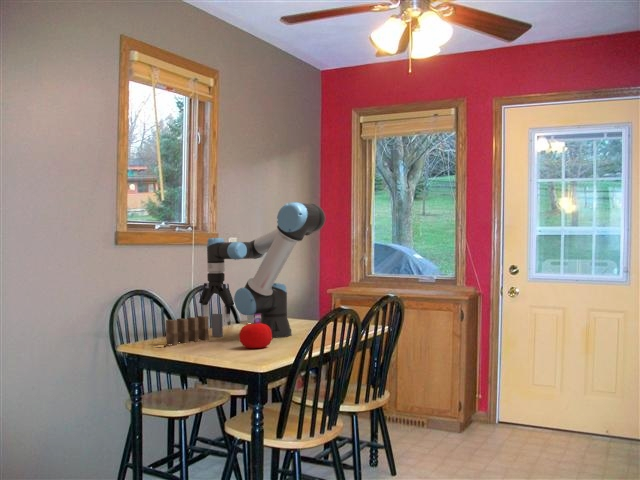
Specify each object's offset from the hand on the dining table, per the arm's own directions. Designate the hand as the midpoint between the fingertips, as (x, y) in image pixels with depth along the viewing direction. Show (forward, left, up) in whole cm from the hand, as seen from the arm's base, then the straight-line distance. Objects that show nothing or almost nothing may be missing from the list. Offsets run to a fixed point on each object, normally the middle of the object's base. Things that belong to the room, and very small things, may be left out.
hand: (216, 320), depth 280 cm
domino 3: (-2, +15, -7) cm, 17 cm away
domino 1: (-2, +26, -7) cm, 28 cm away
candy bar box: (+19, -45, -7) cm, 49 cm away
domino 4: (-2, +10, -7) cm, 13 cm away
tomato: (-39, +15, -7) cm, 43 cm away
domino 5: (0, 0, -7) cm, 7 cm away
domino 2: (-2, +21, -7) cm, 22 cm away
